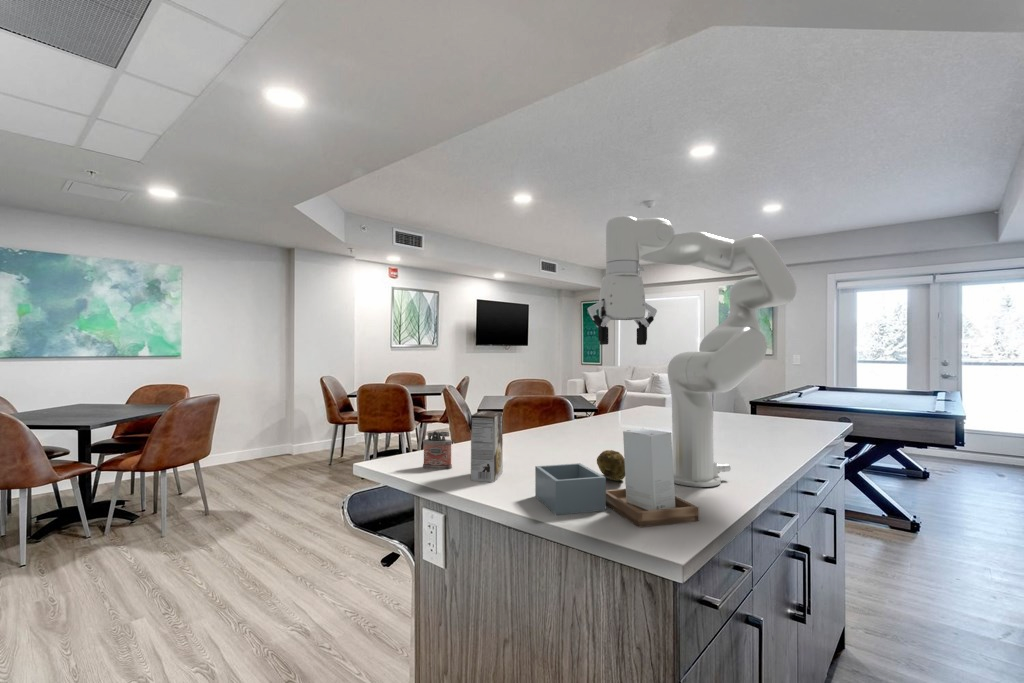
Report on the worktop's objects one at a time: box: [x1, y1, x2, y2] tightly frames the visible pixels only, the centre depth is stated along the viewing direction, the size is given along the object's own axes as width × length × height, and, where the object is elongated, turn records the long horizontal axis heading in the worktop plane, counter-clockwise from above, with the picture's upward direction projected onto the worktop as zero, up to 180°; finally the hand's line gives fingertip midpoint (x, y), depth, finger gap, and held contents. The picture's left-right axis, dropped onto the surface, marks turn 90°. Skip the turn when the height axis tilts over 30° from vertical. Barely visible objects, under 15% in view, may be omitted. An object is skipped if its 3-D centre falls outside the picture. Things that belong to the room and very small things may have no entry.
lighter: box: [422, 430, 453, 470], centre depth 129 cm, size 8×3×10 cm, turn 81°
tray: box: [606, 488, 700, 528], centre depth 94 cm, size 13×15×2 cm
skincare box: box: [622, 427, 676, 511], centre depth 94 cm, size 8×6×15 cm
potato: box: [596, 449, 625, 482], centre depth 116 cm, size 8×13×8 cm, turn 152°
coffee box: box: [470, 410, 504, 483], centre depth 120 cm, size 9×6×16 cm
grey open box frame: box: [534, 462, 607, 516], centre depth 99 cm, size 11×13×6 cm
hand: (622, 344), depth 110 cm, fingers open, 9 cm apart
